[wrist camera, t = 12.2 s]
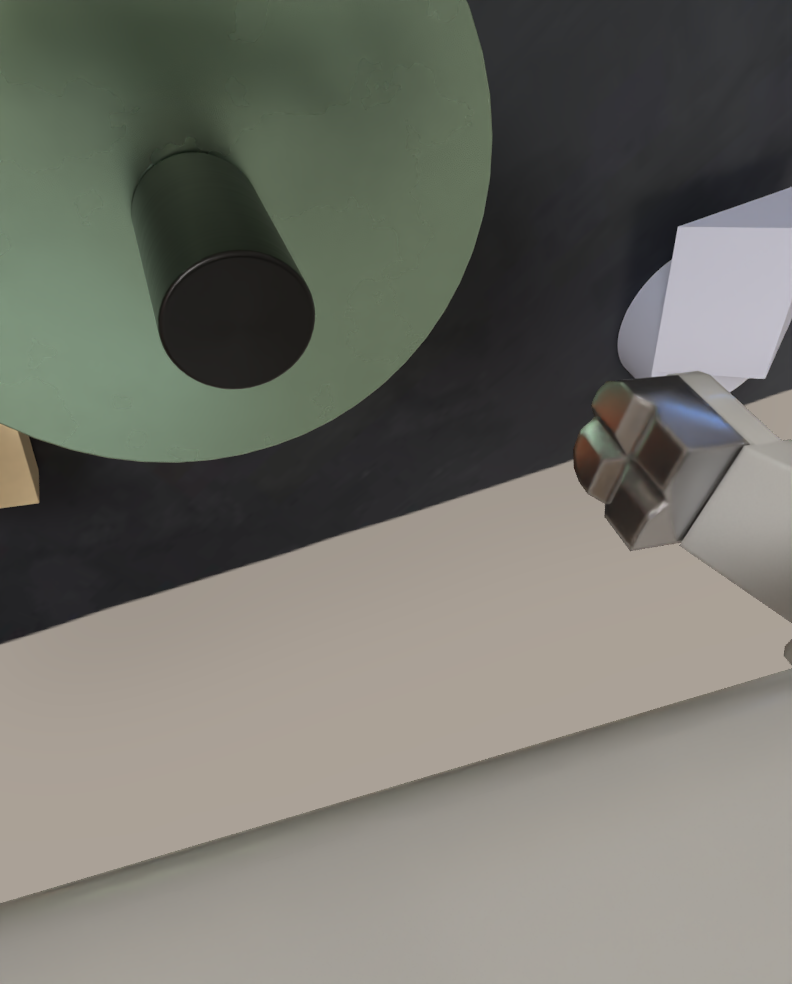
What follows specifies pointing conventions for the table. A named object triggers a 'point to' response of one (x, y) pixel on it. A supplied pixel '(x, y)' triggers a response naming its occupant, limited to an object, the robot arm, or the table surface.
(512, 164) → the table surface
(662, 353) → the wedge on round base
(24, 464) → the switch base
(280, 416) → the kettle lid
